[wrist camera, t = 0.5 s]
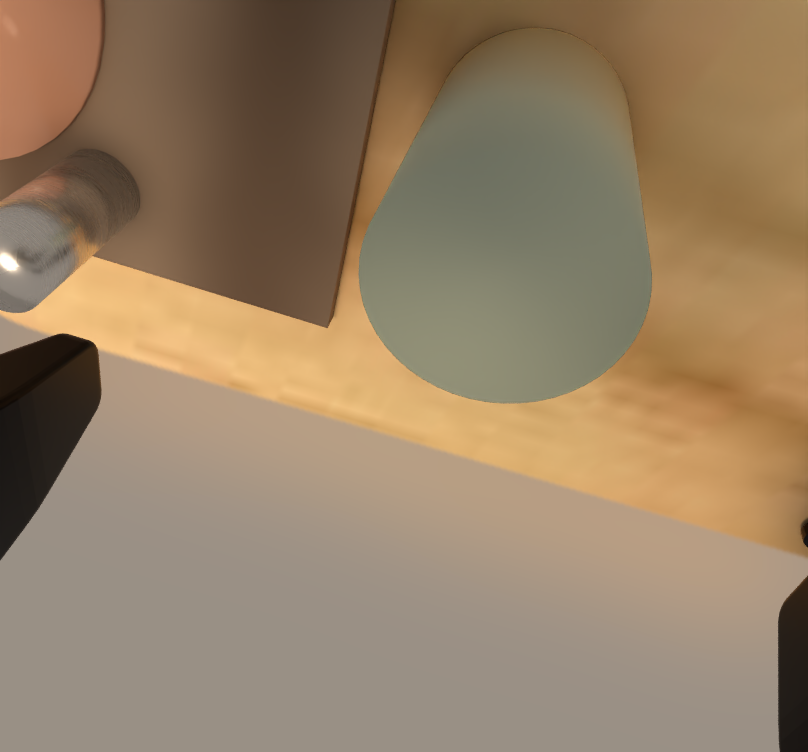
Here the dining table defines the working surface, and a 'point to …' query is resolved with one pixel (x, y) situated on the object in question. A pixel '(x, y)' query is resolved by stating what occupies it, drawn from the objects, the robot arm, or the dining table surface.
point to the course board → (206, 130)
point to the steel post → (61, 224)
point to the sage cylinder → (514, 226)
